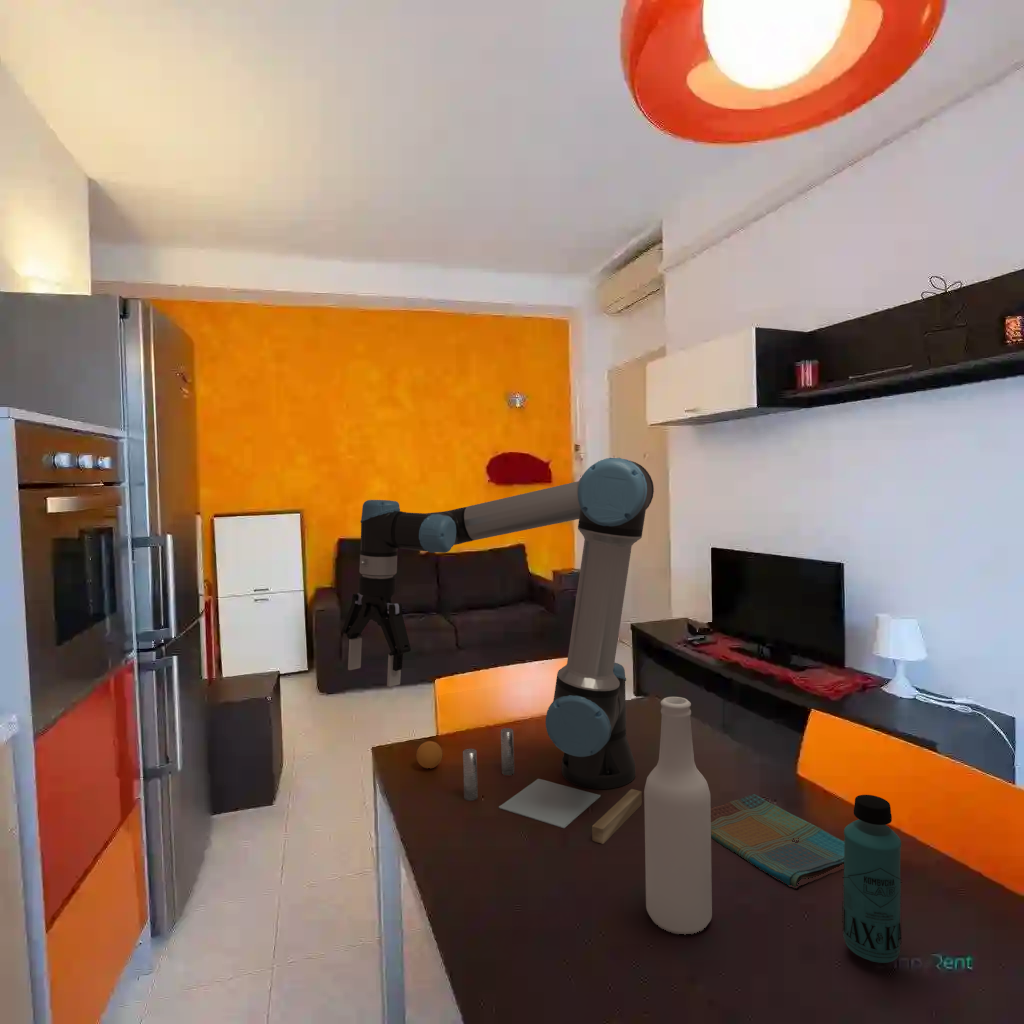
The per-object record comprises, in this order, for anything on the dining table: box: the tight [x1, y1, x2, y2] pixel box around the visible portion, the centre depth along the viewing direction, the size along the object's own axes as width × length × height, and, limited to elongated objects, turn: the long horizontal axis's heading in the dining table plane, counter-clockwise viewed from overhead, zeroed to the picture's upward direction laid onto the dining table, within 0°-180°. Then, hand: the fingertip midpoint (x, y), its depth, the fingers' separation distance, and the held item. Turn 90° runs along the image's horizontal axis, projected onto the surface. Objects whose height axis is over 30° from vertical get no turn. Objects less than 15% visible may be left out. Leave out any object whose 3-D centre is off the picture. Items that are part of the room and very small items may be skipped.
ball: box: [415, 740, 443, 769], centre depth 142 cm, size 6×6×6 cm
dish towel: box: [711, 793, 845, 887], centre depth 110 cm, size 17×23×2 cm
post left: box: [462, 748, 479, 801], centre depth 128 cm, size 3×3×9 cm
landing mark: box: [498, 778, 601, 829], centre depth 125 cm, size 14×14×1 cm
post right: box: [500, 728, 515, 776], centre depth 138 cm, size 3×3×9 cm
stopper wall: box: [591, 788, 643, 845], centre depth 117 cm, size 2×16×2 cm, turn 146°
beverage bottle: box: [841, 794, 903, 964], centre depth 82 cm, size 6×7×20 cm
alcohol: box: [643, 696, 713, 936], centre depth 91 cm, size 9×9×30 cm
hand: (373, 676), depth 138 cm, fingers open, 13 cm apart
